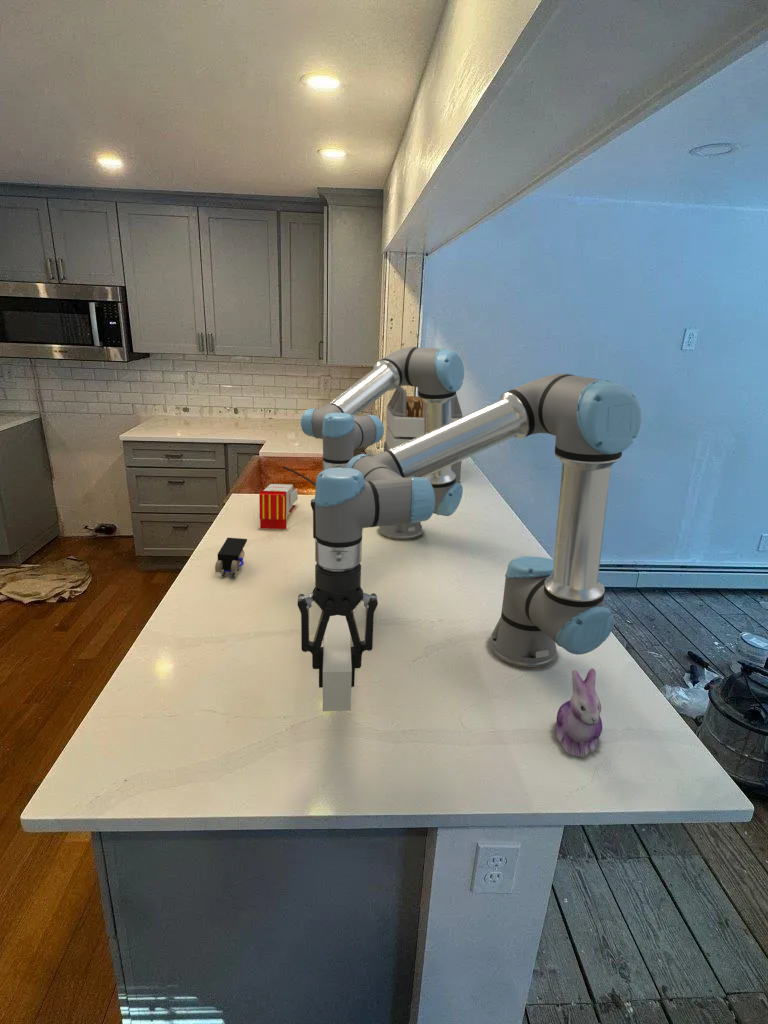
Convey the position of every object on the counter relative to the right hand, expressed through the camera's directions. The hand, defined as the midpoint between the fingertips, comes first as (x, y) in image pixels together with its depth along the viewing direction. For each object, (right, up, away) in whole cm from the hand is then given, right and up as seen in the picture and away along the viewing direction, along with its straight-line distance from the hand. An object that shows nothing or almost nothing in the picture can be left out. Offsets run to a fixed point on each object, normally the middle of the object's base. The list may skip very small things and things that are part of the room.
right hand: (336, 682), depth 100 cm
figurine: (+45, -13, +6) cm, 47 cm away
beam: (-2, +8, +24) cm, 25 cm away
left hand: (-4, +17, +47) cm, 51 cm away
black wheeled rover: (-36, +13, +67) cm, 78 cm away
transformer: (+26, +49, +175) cm, 183 cm away
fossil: (-5, +61, +204) cm, 213 cm away
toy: (-31, +29, +111) cm, 119 cm away
